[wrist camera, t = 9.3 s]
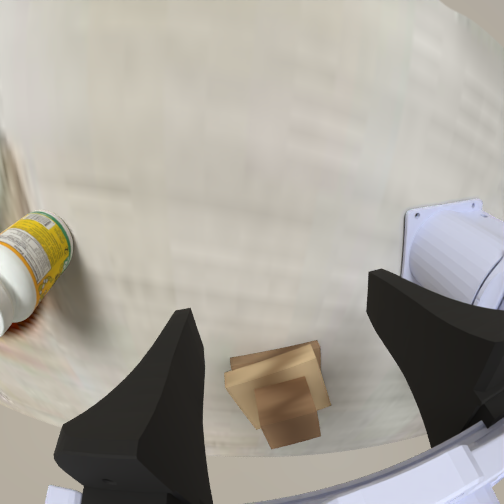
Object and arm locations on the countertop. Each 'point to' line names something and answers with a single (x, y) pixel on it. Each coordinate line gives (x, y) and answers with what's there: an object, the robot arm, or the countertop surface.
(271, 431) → the block
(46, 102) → the countertop surface
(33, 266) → the supplement bottle
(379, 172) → the countertop surface
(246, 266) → the countertop surface
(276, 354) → the tile bottom
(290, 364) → the tile top
